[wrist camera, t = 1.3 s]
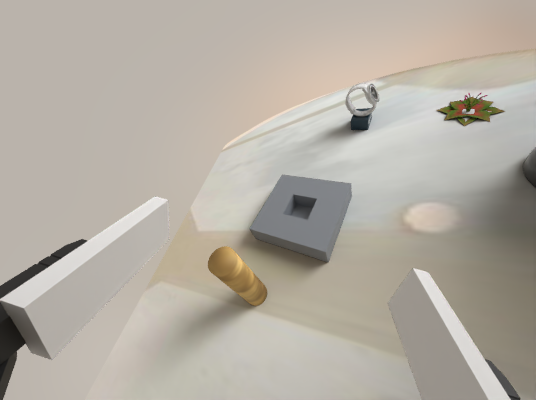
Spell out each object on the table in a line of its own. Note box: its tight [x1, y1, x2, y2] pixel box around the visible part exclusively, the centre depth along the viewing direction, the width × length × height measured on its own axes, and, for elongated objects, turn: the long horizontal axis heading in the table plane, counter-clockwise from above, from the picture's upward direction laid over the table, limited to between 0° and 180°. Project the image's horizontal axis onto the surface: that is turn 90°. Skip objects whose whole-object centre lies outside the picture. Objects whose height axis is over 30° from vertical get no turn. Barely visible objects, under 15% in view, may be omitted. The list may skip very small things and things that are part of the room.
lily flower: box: [438, 92, 505, 126], centre depth 51 cm, size 12×12×5 cm
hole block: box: [250, 175, 352, 262], centre depth 45 cm, size 16×16×4 cm
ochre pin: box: [208, 247, 267, 306], centre depth 34 cm, size 4×4×14 cm
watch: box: [346, 83, 379, 130], centre depth 58 cm, size 6×8×11 cm
